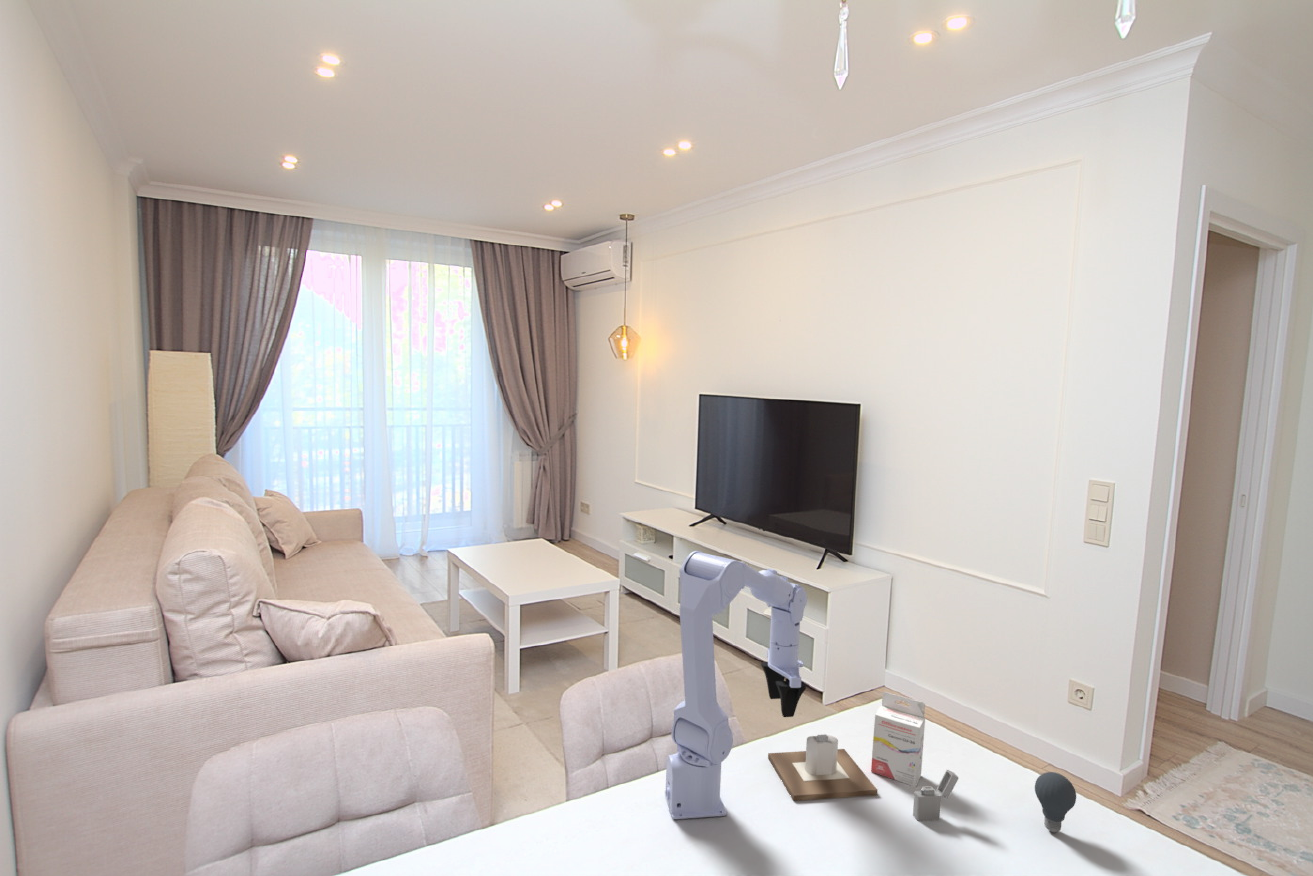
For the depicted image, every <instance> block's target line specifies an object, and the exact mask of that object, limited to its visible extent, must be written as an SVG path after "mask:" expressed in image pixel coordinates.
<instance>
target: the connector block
mask: <svg viewBox="0 0 1313 876" xmlns="http://www.w3.org/2000/svg"><path fill="white" fill-rule="evenodd" d="M838 747H839V740H838V738H837V737H836V736H833V735H827V734H817V735H811V736H808V737H806V747H805V751H806V764H805V771H806V772H807V773H809V774H811V775H828V774H835V773H836V769H837V751H838V749H839V748H838Z"/></svg>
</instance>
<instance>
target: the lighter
mask: <svg viewBox="0 0 1313 876" xmlns="http://www.w3.org/2000/svg"><path fill="white" fill-rule="evenodd" d="M958 781H959V776H958V775H957V774H956V772H953V771H951V770H950V769H946V771H945V772H944V774H943V776H942V778H941V781H940V782H939V784H938V786H937V788H936V790H935V788H934V787H933V786H931V785H929V786H921V789H920V790H914V793H913V794H914V795H913V808H912V809H913V810H912V816H913V817H914V818H915V819H916V821H918V822H923V821H926V822H927V821H939V820H940V817H941V805H942V804H941V800H942V797H943V798H946V799H949V797H950V796H951V794H952V792H953V790H954V788H955V786H956V784H957V783H958Z"/></svg>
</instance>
